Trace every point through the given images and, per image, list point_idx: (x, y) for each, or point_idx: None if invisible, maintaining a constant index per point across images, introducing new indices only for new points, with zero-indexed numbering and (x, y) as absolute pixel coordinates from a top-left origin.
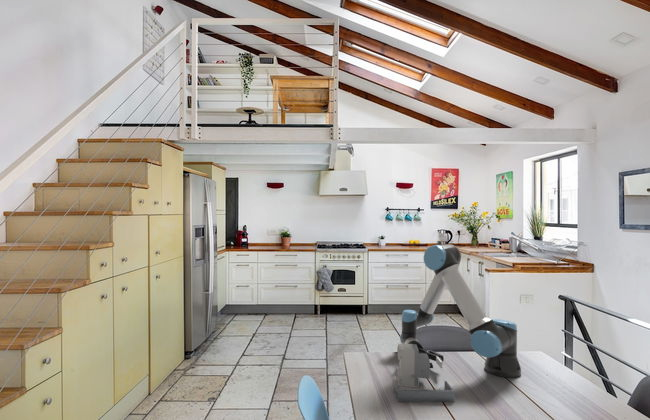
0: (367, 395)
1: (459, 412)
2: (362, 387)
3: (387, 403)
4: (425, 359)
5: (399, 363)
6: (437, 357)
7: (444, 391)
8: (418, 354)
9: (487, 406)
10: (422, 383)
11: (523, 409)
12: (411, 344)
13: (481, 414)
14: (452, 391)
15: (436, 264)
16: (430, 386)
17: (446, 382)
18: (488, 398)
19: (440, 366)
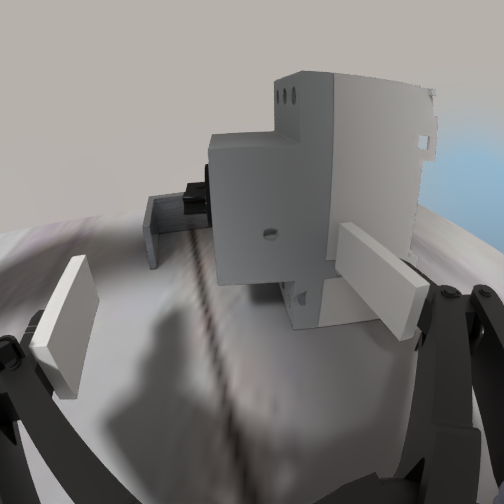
0: (417, 218)
1: None
2: (458, 238)
3: None
4: (234, 134)
5: (409, 226)
6: (49, 324)
7: (183, 192)
8: (275, 103)
9: (71, 233)
10: (253, 300)
11: (4, 240)
12: (340, 74)
13: (112, 213)
14: (155, 196)
15: None
16: (212, 285)
17: (147, 219)
18: (34, 258)
19: (94, 294)
